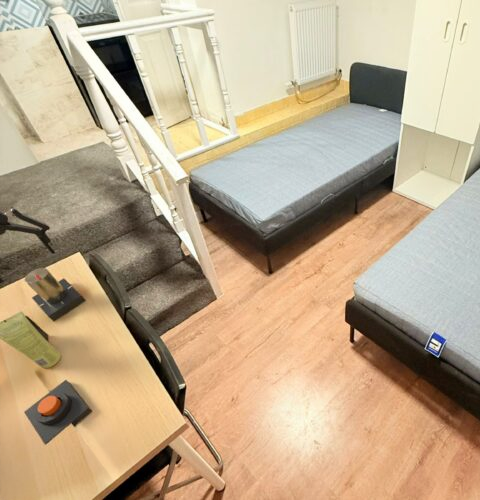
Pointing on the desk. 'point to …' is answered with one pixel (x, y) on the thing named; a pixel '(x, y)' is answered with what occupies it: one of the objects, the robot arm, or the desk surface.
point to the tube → (28, 340)
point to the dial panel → (61, 302)
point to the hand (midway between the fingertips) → (27, 265)
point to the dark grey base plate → (58, 412)
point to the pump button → (49, 405)
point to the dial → (45, 285)
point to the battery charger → (38, 329)
